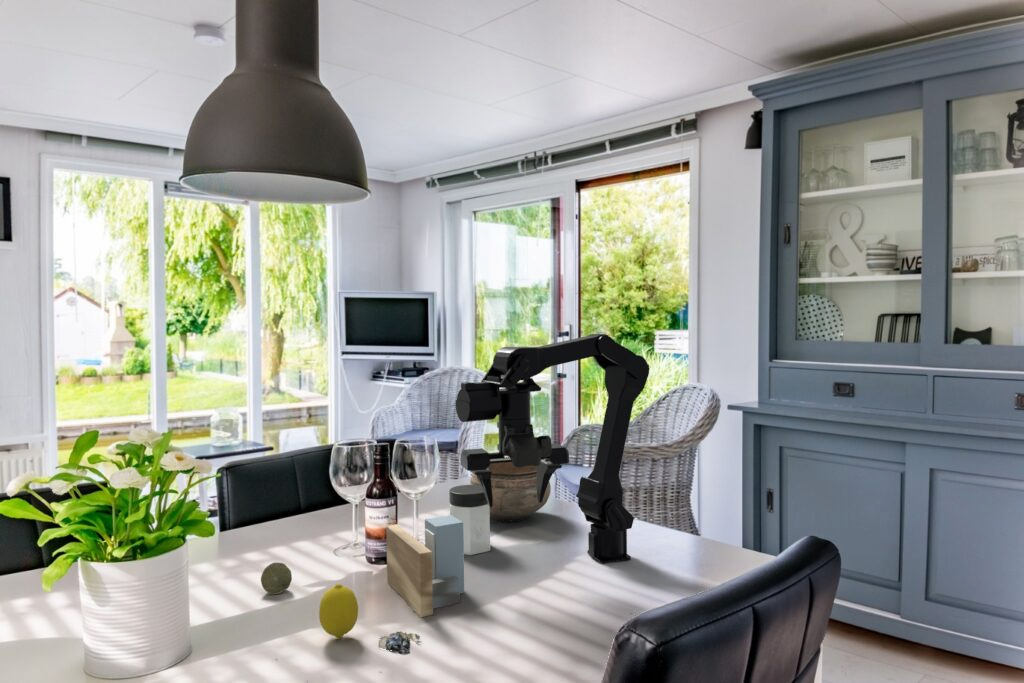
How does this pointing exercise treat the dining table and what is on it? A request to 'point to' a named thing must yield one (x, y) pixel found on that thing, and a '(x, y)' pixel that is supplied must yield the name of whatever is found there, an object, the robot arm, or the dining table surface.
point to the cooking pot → (513, 491)
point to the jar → (472, 517)
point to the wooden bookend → (416, 573)
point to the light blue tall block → (446, 547)
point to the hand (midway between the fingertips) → (515, 504)
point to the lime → (276, 578)
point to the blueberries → (398, 642)
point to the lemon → (338, 611)
